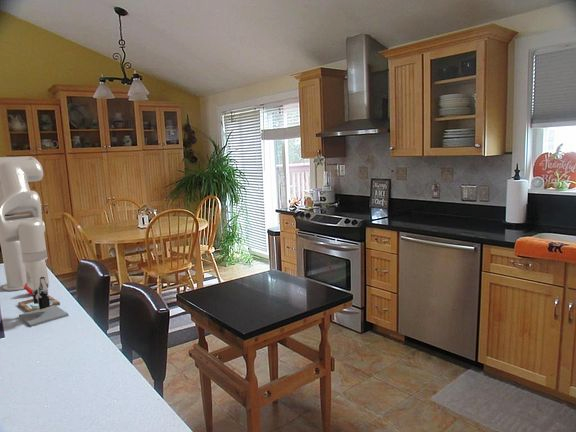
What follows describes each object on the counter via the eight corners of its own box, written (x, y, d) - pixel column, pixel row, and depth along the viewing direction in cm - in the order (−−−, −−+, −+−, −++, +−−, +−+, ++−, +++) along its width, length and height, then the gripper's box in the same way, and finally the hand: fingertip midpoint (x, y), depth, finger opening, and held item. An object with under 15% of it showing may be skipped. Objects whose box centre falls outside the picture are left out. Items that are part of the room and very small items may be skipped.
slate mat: (19, 316, 154) (18, 314, 154) (55, 307, 162) (54, 304, 162) (30, 326, 144) (30, 324, 144) (68, 315, 153) (68, 313, 152)
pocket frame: (18, 304, 167) (18, 302, 166) (48, 297, 174) (47, 294, 174) (28, 313, 157) (28, 310, 157) (60, 304, 165) (59, 302, 164)
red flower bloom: (25, 291, 173) (39, 280, 176) (19, 284, 176) (32, 274, 179) (37, 302, 179) (49, 291, 181) (30, 295, 182) (43, 285, 184)
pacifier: (29, 308, 154) (31, 312, 149) (27, 291, 153) (28, 295, 148) (52, 303, 158) (55, 307, 153) (50, 287, 157) (52, 290, 152)
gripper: (15, 255, 153) (23, 303, 156) (30, 262, 141) (37, 315, 144) (39, 250, 158) (45, 297, 161) (54, 257, 147) (61, 308, 149)
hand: (42, 305), depth 153 cm, fingers closed on pacifier, 5 cm apart
